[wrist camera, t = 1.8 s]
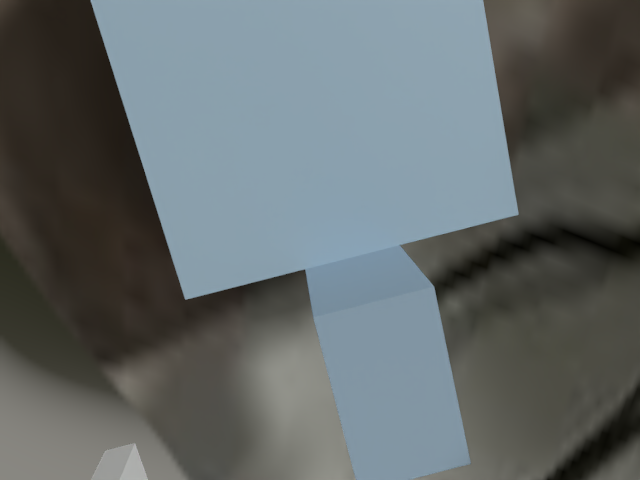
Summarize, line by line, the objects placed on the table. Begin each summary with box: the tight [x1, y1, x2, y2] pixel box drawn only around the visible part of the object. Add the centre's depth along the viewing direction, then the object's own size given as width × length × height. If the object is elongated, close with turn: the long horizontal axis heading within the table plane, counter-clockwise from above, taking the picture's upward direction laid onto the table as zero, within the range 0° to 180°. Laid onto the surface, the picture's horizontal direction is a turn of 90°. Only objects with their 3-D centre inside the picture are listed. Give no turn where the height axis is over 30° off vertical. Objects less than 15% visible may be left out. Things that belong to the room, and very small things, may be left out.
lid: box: [91, 0, 519, 480], centre depth 16 cm, size 20×11×6 cm, turn 14°
